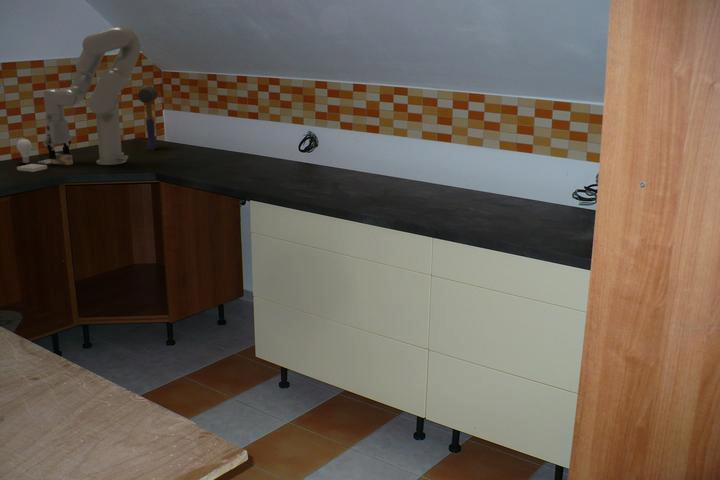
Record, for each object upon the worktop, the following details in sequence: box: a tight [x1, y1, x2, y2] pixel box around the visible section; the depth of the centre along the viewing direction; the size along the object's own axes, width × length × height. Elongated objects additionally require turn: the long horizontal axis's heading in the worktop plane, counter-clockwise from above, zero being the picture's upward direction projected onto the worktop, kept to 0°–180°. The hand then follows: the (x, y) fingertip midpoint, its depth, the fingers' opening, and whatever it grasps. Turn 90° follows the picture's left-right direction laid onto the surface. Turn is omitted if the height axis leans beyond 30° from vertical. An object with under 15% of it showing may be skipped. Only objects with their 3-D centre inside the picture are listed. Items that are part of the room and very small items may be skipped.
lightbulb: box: [15, 138, 33, 165], centre depth 359 cm, size 6×6×11 cm
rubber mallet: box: [137, 86, 159, 151], centre depth 389 cm, size 12×8×30 cm, turn 1°
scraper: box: [37, 153, 74, 166], centre depth 360 cm, size 16×6×4 cm, turn 66°
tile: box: [16, 163, 48, 173], centre depth 347 cm, size 2×8×9 cm
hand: (59, 157), depth 359 cm, fingers open, 7 cm apart
